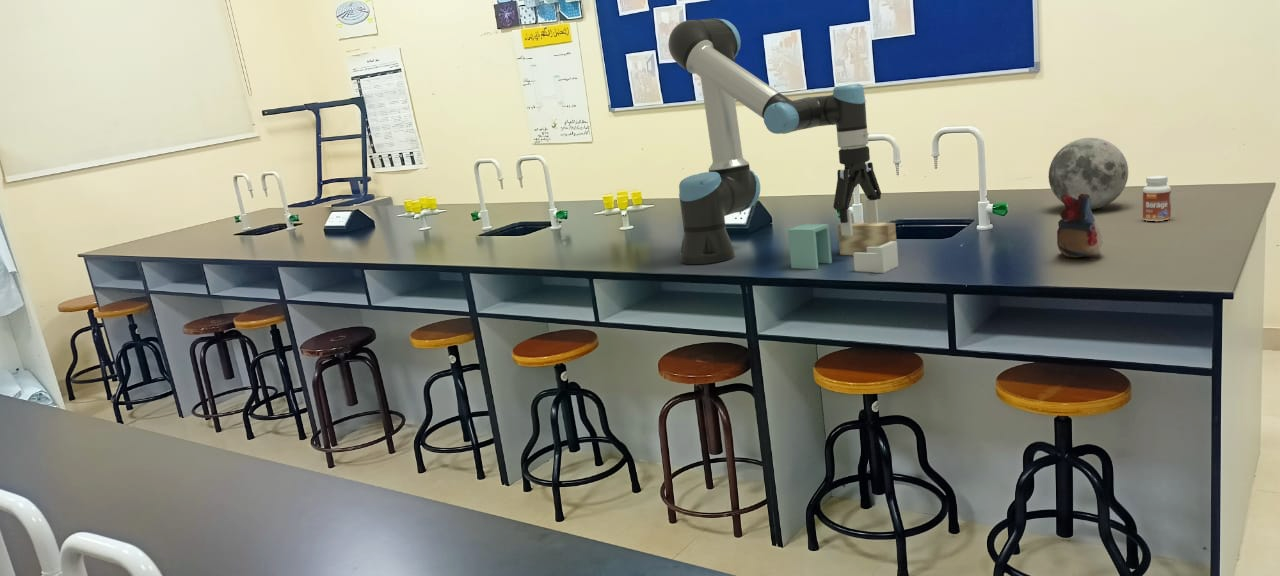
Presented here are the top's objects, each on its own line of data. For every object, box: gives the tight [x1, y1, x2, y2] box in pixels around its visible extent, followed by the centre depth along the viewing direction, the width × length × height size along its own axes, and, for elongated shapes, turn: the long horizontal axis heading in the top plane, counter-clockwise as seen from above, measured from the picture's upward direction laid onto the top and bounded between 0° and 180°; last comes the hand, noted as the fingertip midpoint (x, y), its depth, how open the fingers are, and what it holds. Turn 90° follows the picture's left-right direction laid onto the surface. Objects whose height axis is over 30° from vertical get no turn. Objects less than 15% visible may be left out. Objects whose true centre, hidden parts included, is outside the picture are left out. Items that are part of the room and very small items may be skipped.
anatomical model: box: [1056, 194, 1104, 258], centre depth 203 cm, size 9×13×15 cm
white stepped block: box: [852, 240, 899, 274], centre depth 217 cm, size 8×7×6 cm
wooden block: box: [837, 222, 897, 256], centre depth 235 cm, size 14×4×8 cm, turn 48°
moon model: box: [1048, 137, 1129, 210], centre depth 256 cm, size 20×20×20 cm
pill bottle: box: [1142, 175, 1172, 220], centre depth 231 cm, size 6×6×11 cm
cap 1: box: [787, 223, 833, 270], centre depth 229 cm, size 7×7×10 cm
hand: (860, 230), depth 235 cm, fingers open, 13 cm apart
